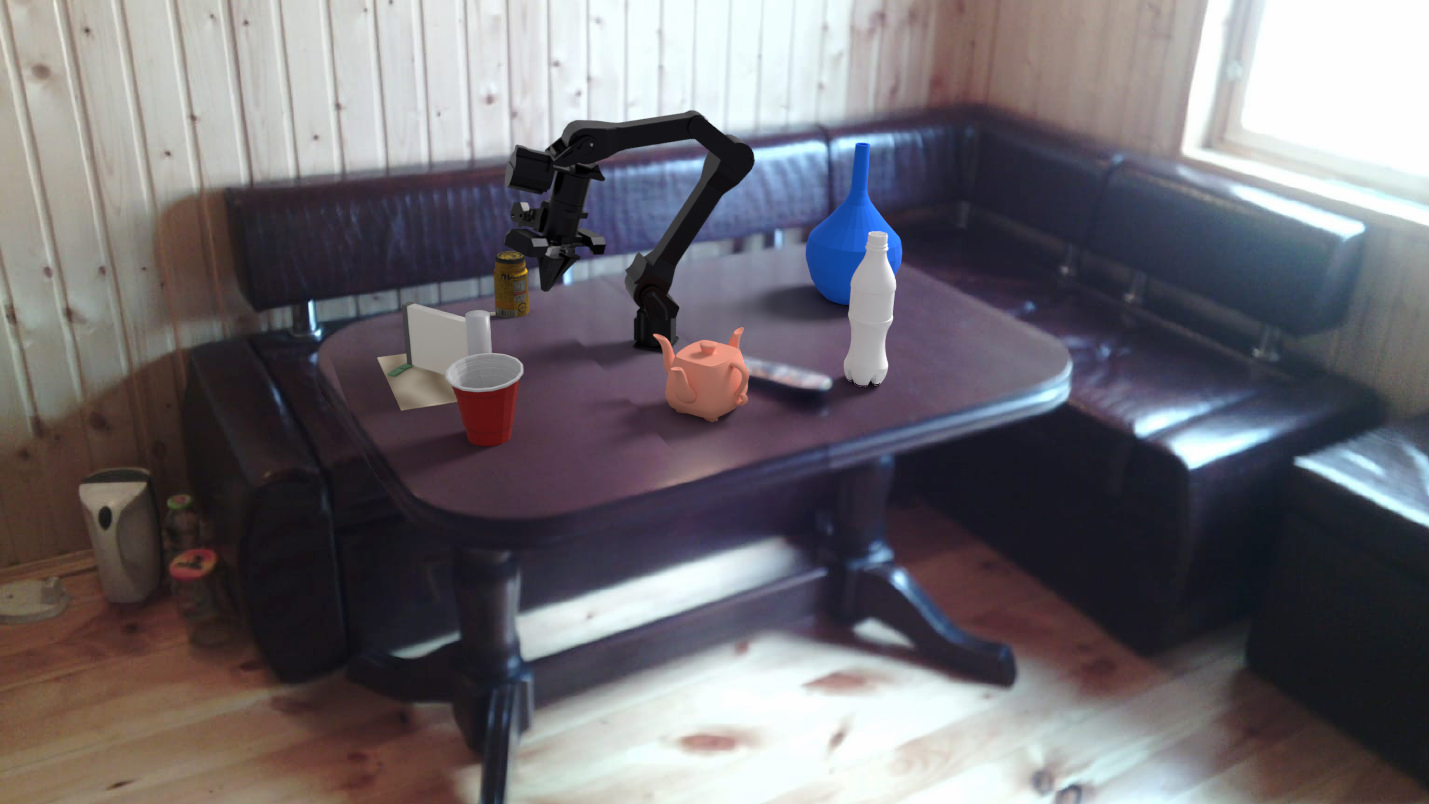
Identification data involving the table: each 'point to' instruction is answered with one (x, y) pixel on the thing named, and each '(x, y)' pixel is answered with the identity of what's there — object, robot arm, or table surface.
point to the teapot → (705, 377)
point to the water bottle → (870, 313)
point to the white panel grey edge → (443, 336)
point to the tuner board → (415, 384)
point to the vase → (848, 237)
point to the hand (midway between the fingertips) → (544, 290)
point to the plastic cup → (486, 395)
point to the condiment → (510, 285)
